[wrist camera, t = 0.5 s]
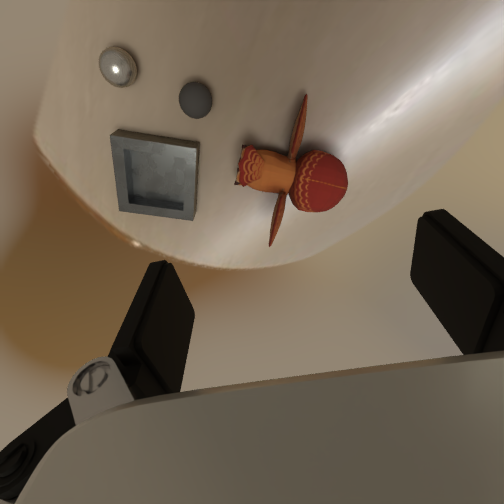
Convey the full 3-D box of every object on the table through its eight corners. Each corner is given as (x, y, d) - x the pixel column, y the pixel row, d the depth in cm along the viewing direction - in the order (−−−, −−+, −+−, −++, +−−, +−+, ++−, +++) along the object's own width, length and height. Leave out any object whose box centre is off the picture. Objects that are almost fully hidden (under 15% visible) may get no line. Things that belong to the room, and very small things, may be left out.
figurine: (232, 229, 47) (323, 251, 45) (218, 237, 38) (329, 265, 37) (258, 99, 42) (361, 120, 41) (250, 76, 33) (379, 101, 32)
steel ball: (104, 43, 33) (89, 43, 30) (140, 50, 34) (128, 50, 31) (109, 82, 36) (95, 86, 33) (142, 88, 36) (131, 92, 33)
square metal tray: (118, 129, 39) (109, 134, 37) (199, 142, 40) (196, 148, 38) (126, 202, 45) (119, 211, 43) (196, 211, 46) (193, 220, 44)
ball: (182, 77, 35) (175, 80, 32) (214, 83, 36) (211, 87, 33) (182, 112, 38) (175, 118, 35) (212, 117, 38) (208, 124, 35)
